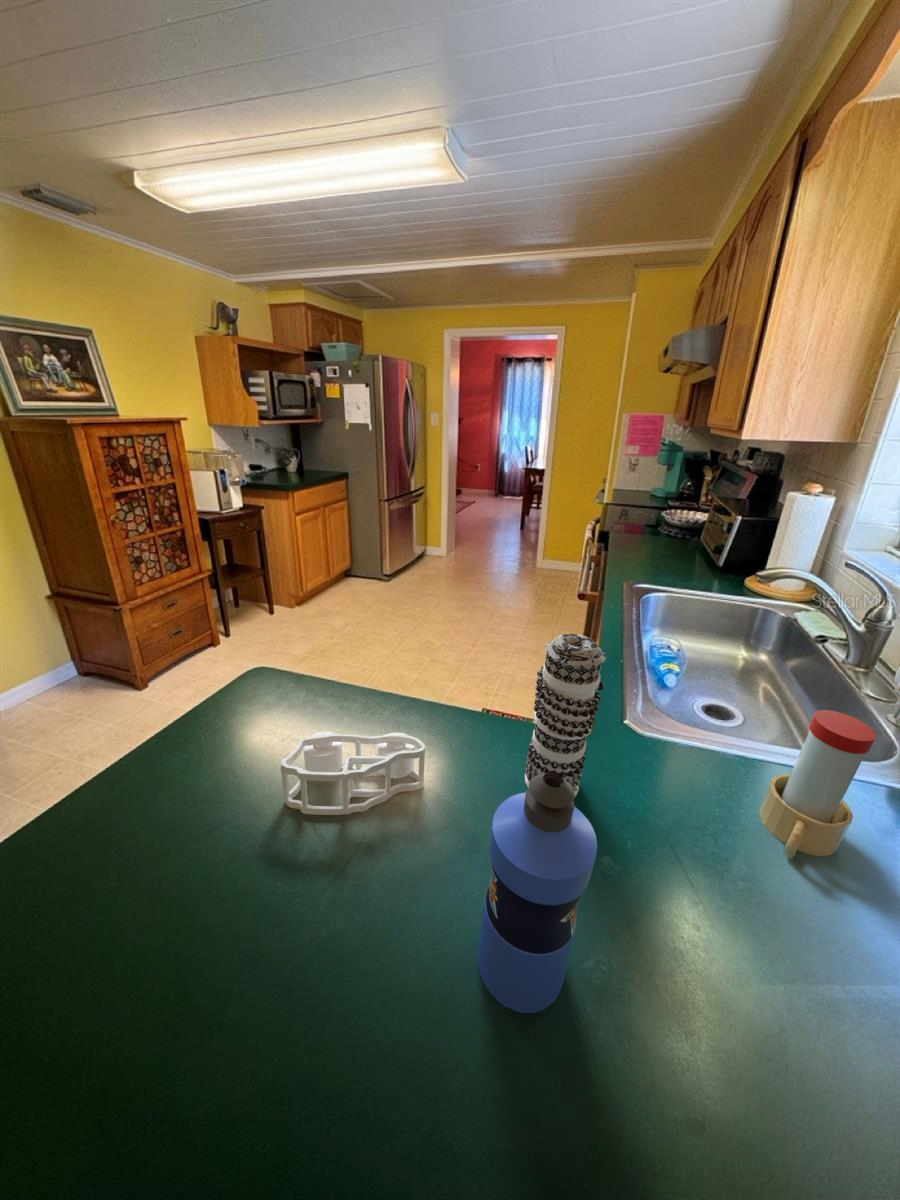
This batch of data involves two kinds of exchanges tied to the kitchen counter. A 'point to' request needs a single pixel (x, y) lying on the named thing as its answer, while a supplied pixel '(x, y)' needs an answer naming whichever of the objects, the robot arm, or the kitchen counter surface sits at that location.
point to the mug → (802, 824)
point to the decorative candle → (565, 708)
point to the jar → (827, 764)
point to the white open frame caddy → (352, 769)
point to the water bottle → (534, 893)
